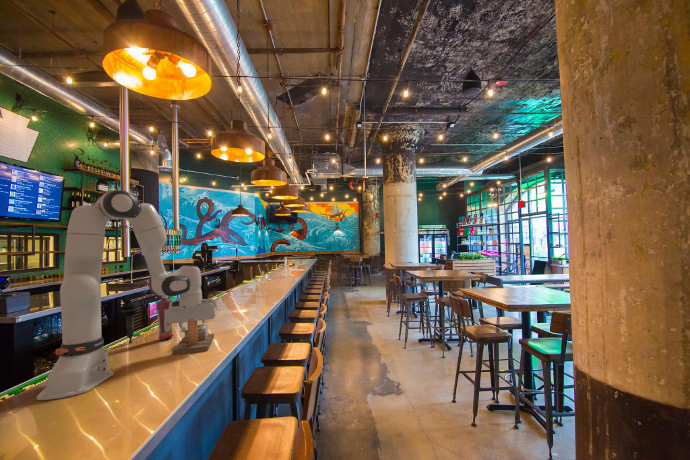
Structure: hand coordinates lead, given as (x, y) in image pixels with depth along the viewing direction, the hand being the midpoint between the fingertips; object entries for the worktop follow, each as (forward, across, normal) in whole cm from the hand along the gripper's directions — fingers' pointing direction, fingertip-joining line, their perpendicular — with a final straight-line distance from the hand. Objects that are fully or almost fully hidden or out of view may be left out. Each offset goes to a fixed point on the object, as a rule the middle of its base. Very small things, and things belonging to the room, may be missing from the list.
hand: (192, 330), depth 145 cm
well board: (+8, 0, -5) cm, 10 cm away
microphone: (+8, +33, -24) cm, 42 cm away
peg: (+6, 0, 0) cm, 6 cm away
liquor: (+8, +17, -24) cm, 31 cm away
